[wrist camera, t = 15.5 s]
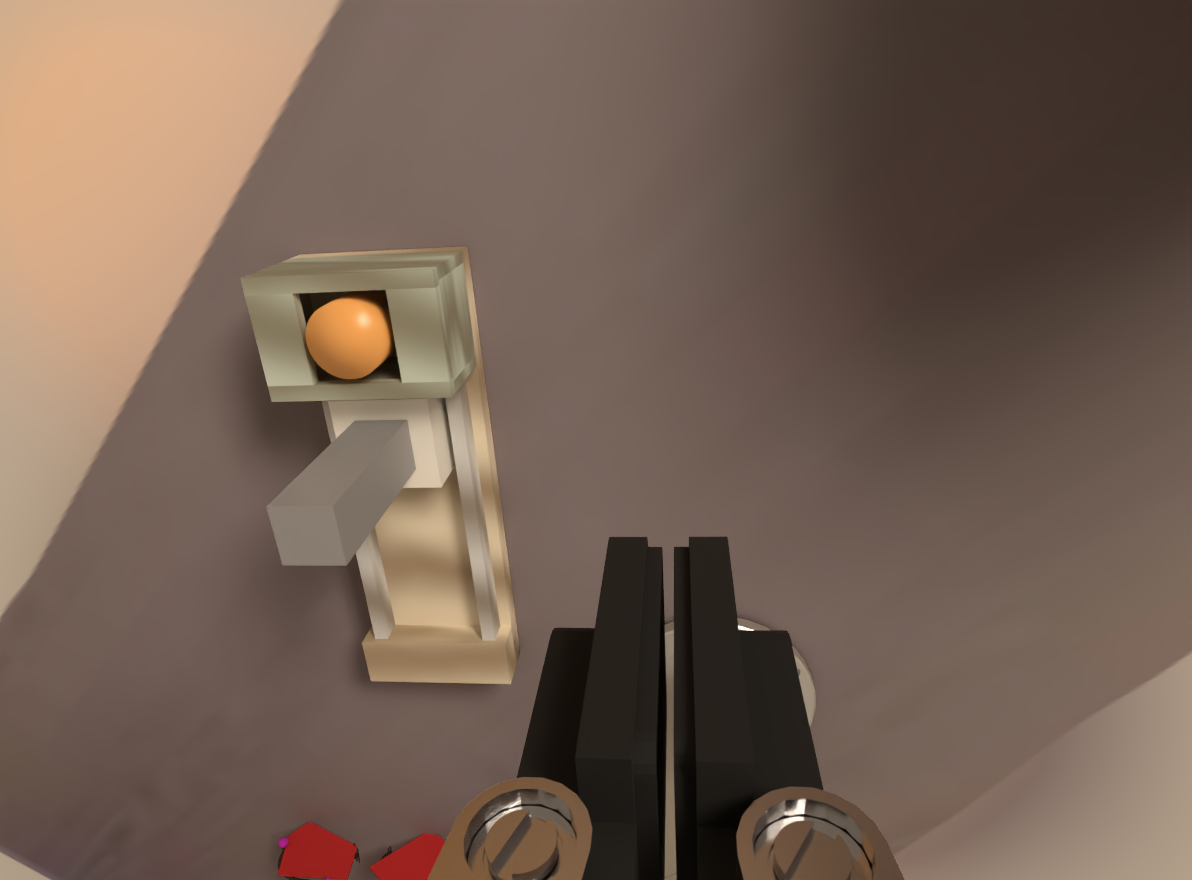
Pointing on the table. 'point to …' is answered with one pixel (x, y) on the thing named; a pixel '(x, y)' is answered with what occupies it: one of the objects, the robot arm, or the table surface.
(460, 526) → the board
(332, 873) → the glasses
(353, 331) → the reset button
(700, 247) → the table surface
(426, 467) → the carriage
